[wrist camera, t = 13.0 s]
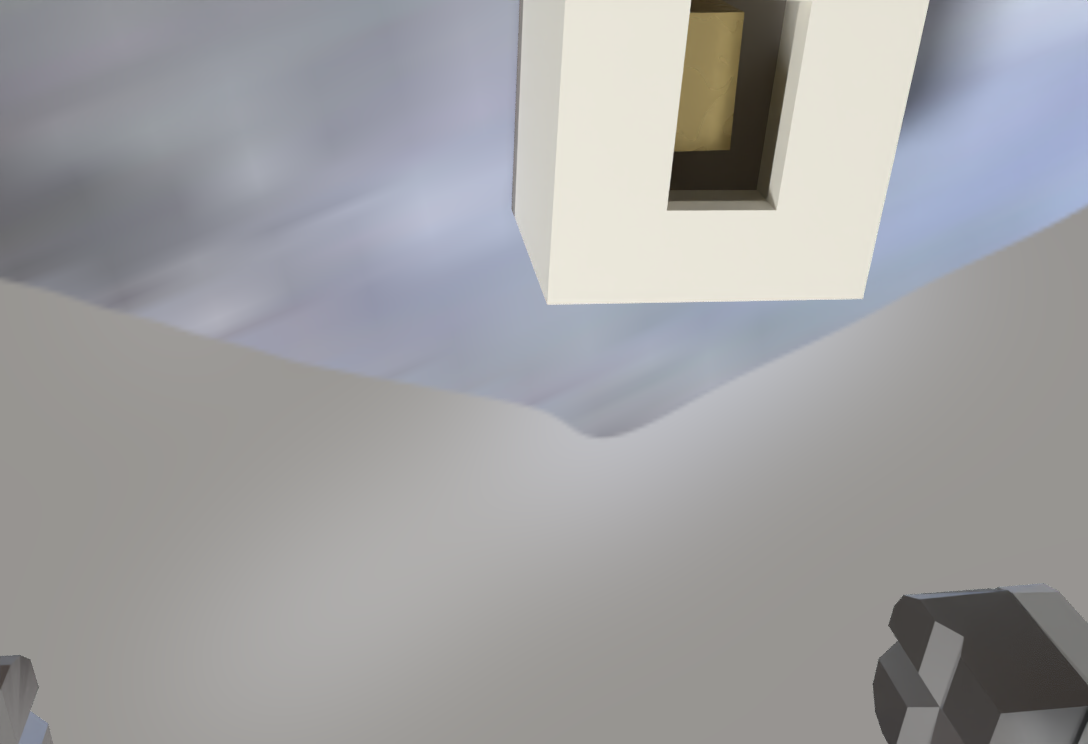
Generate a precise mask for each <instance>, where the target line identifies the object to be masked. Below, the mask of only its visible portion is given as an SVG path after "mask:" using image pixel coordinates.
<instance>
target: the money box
mask: <svg viewBox="0 0 1088 744" xmlns="http://www.w3.org/2000/svg"><path fill="white" fill-rule="evenodd" d="M722 1H724V2H726V3H728V4H730V5H732V6H733V7H735V8H737V9H739V10H741V11H743V12H744V21H743V30H742V40H741V49H740V59H739V68H738V77H737V87H736V96H735V105H734V115H733V124H732V134H731V143H730V150H709V151H677V152H674V144H675V136H676V127H677V118H678V110H679V101H680V93H681V84H682V75H683V67H684V58H685V50H686V41H687V32H688V24H689V15H690V6H691V0H520V7H519V33H518V58H517V84H516V110H515V136H514V162H513V188H512V211H513V214H514V216H515V219H516V222H517V224H518V227H519V230H520V233H521V235H522V238H523V241H524V243H525V246H526V249H527V251H528V254H529V257H530V259H531V262H532V265H533V268H534V270H535V273H536V276H537V278H538V281H539V284H540V286H541V289H542V292H543V295H544V297H545V300H546V303H547V305H557V304H611V303H666V302H720V301H774V300H829V299H863V295H864V291H865V287H866V282H867V278H868V273H869V269H870V264H871V260H872V255H873V251H874V246H875V242H876V237H877V233H878V228H879V224H880V219H881V215H882V211H883V206H884V202H885V197H886V193H887V188H888V184H889V179H890V175H891V170H892V166H893V161H894V157H895V152H896V148H897V143H898V139H899V134H900V130H901V126H902V121H903V117H904V112H905V108H906V103H907V99H908V94H909V90H910V85H911V81H912V76H913V72H914V67H915V63H916V58H917V54H918V50H919V45H920V41H921V36H922V32H923V27H924V23H925V18H926V14H927V9H928V5H929V0H722Z"/></svg>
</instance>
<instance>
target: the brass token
mask: <svg viewBox="0 0 1088 744" xmlns="http://www.w3.org/2000/svg"><path fill="white" fill-rule="evenodd" d="M743 21H744V12H743V11H741V10H739V9H737V8H735V7H733V6H732V5H730V4H728V3H726V2H724V1H722V0H691V6H690V15H689V24H688V32H687V41H686V50H685V58H684V67H683V75H682V84H681V93H680V101H679V110H678V118H677V127H676V136H675V144H674V152H677V151H709V150H730V143H731V134H732V124H733V115H734V105H735V96H736V87H737V77H738V68H739V59H740V49H741V40H742V30H743Z"/></svg>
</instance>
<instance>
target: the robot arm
mask: <svg viewBox="0 0 1088 744" xmlns="http://www.w3.org/2000/svg"><path fill="white" fill-rule="evenodd" d="M888 626H889V627H890V629H891V631H892V632H893V634H894V636H895V637H896V639H897V640H898V641H897V642H896V643H895V644H894V645H893V646H892V647H891V648H890V649H889V650H887V651H886V653H884V654H883V655H882V656H881V657H880V658H879V659H878V664H877V668H876V672H875V677H874V681H873V694H874V704H875V713H876V716H877V719H878V722H879V725H880V728H881V731H882V734H883V735H884V737H885V739H886V741H887V743H888V744H1088V623H1087V622H1086V621H1085V620H1084V619H1083V618H1082V616H1081V615H1080V614H1079V613H1078V612H1077V611H1076V610H1075V609H1074V607H1073V606H1072V605H1071V604H1070V603H1069V602H1068V601H1067V600H1066V599H1065V597H1064V596H1063V595H1062V594H1061V593H1060V592H1059V591H1057V590H1056V589H1054V588H1052V587H1050V586H1048V585H1046V584H1044V583H1043V584H1032V585H1019V586H1007V587H997V588H995V589H989V588H988V589H975V590H963V591H949V592H936V593H923V594H910V595H903V596H902V597H901V599H900V600H899V601H898V602H897V603H896V604H895V606H894V608H893V611H892V615H891V618H890V621H889V625H888ZM38 688H39V686H38V683H37V679H36V676H35V673H34V670H33V666H32V663H31V660H30V659H28V658H26V657H24V656H21V655H13V656H0V744H53V742H52V737H51V734H50V729H49V725H48V723H46V722H45V721H44V720H42V719H41V718H40V717H38V716H37V715H35V714H34V713H32V712H31V711H30V710H31V707H32V705H33V702H34V699H35V697H36V694H37V691H38Z"/></svg>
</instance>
